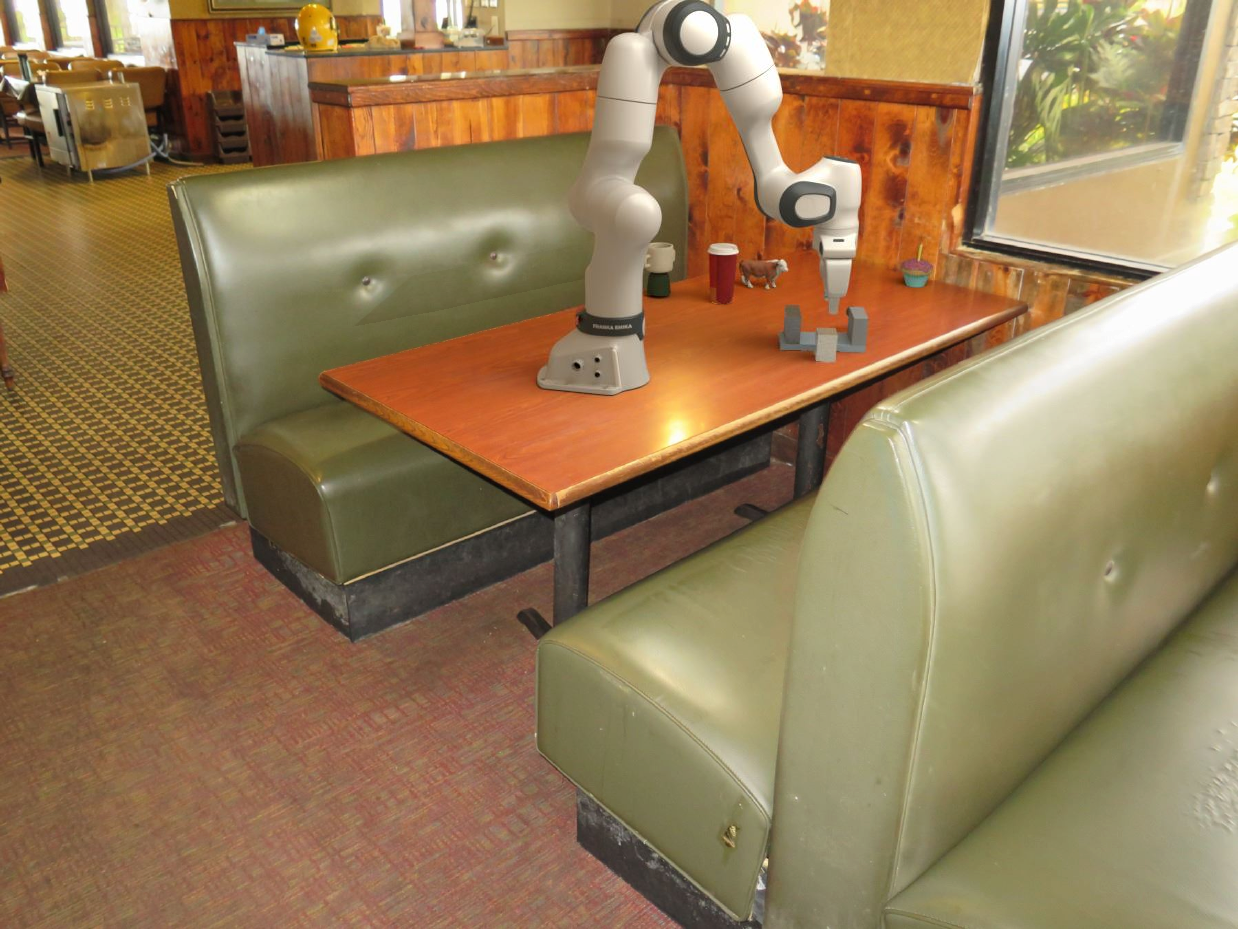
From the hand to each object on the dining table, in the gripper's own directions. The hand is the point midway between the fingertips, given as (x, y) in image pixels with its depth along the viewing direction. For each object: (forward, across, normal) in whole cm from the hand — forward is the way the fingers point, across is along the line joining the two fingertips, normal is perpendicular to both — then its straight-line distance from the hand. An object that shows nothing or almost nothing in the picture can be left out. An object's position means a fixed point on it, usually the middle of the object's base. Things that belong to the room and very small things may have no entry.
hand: (830, 306), depth 207 cm
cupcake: (+12, -62, +29) cm, 69 cm away
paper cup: (+11, -42, -22) cm, 49 cm away
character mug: (+11, -46, -38) cm, 61 cm away
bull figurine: (+12, -56, -11) cm, 59 cm away
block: (+11, 0, 0) cm, 11 cm away
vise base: (+11, -13, 0) cm, 17 cm away
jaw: (+10, -9, -7) cm, 15 cm away
